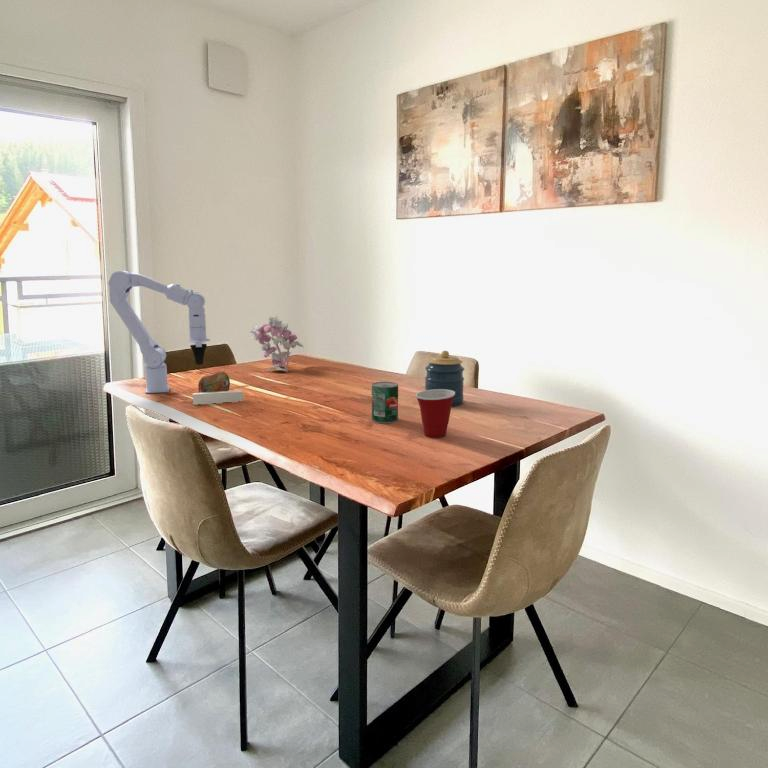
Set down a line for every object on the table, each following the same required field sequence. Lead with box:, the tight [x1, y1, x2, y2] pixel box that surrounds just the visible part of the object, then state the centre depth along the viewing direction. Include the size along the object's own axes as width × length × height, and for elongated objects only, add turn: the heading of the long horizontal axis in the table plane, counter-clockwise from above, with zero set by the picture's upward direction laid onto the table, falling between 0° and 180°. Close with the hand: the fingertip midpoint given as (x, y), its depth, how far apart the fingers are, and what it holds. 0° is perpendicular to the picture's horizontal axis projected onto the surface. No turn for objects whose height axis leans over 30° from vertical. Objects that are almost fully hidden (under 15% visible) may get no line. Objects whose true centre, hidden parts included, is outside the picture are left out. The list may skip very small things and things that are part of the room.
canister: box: [424, 350, 465, 407], centre depth 203 cm, size 13×13×18 cm
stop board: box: [192, 389, 244, 406], centre depth 202 cm, size 2×16×4 cm, turn 108°
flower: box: [249, 315, 304, 373], centre depth 262 cm, size 20×22×25 cm
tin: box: [197, 371, 231, 393], centre depth 210 cm, size 15×3×8 cm, turn 160°
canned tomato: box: [371, 381, 399, 424], centre depth 180 cm, size 8×8×11 cm
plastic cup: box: [414, 389, 455, 439], centre depth 165 cm, size 11×11×12 cm
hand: (199, 364), depth 221 cm, fingers closed
